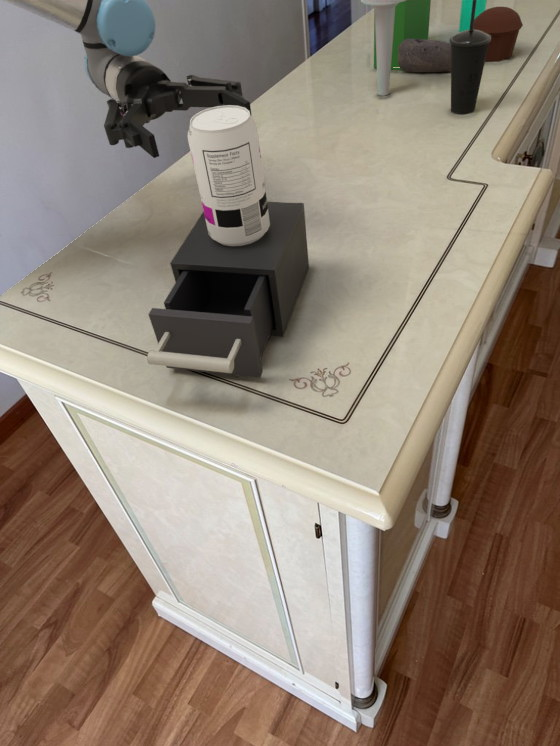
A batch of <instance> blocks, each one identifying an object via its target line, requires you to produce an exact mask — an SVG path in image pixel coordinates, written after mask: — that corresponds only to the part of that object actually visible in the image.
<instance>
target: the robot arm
mask: <svg viewBox="0 0 560 746" xmlns="http://www.w3.org/2000/svg"><path fill="white" fill-rule="evenodd" d="M3 1H4V2H6V3H8V4H11V5H13V6H15V7H18V8H19V9H21V10H22V9H23V10H25V11H26V12H30V13H32V14H34V15H37V16H39V17H41V18H43V19H46V20H48V21H50V22H53V23H55V24H58V25H59V26H62V27H64V28H67V29H69V30H71V31H74V32H76V33H77V34H80V36H81V39H82V44H83V49H84V52H85V54H84V61H83V64H84V65H83V66H84V71H85V73H86V75H87V77H88V79H89V80H90V82H91V84H93V85H94V87H95V88H97V90H98V91H100V92H101V93H102V94H104V95H106V96H108V98H110V99H108V100H107V101H106V105H107V107H108V110H107V113H106V116H105V119H104V123H103V127H104V131H105V134H106V137H107V141H108V143H109V146H116V145H118V144H119V143H120V141H123V144H124V146H125V148H126V149H131V148H136V147H140V148H141V149H142V150H143V151H145V152H146V153H147V154H148V155H149V156H151V157H152V158H153V159H156V158H159V157H160V153H159V148H158V145H157V141H156V138H155V134H154V133H152V132H151V131H150V130H148V129H147V127H144V125H145V124H149V123H151V121H154V120H157V119H159V118H161V117H162V116H164V115H165V114H166V113H172V112H173V111H183V112H184V111H188V110H189V109H190V108H212V107H217V106H225V105H234V106H241V107H244V108H246V109H247V110H249V112H250V115H251V116H252V115H253V114H252V110H251V102H250V101H249V100H247V99H245V97H244V96H243V88H242V82H241V81H234V80H225V79H217V78H208V77H200V76H198V75H194V74H188V75H186V82H183V81H181V82H179V81H171V79H170V78H169V76H168V75H167V74H166V73H165V72H164V70H162V69H161V68H159V67H158V66H156V65H155V64H153V63H151V62H149V61H148V60H146V59H144V58H142V57H141V56H139V55H140V54H142V53H144V52H145V51H147V49H148V48H149V47H150V46H151V44H152V43H153V40H154V38H155V33H156V19H155V14H154V12H153V9H152V8H151V6H150V5H149V2H147V1H146V0H3ZM181 102H182V103H181ZM252 117H253V116H252Z"/></svg>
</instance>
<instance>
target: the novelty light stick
mask: <svg viewBox="0 0 560 746" xmlns="http://www.w3.org/2000/svg"><path fill="white" fill-rule="evenodd" d="M403 1H406V0H360V2H361V4H363V5H366V6H367V5H368V6H372V7H373V8H375V31H376V58H377V68H376V81H377V82H376V83H377V95H378V96H383V97H384V96H388V95H389V94H390V84H391V71H392V70H391V58H392V44H393V30H394V17H395V6H396V5H397V4H399V3H400V2H403Z"/></svg>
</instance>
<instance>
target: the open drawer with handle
mask: <svg viewBox="0 0 560 746" xmlns="http://www.w3.org/2000/svg"><path fill="white" fill-rule="evenodd" d="M163 306H164V308H157V307H152V308H151V309H150V310H149V312H148V317H149V321H150V324H151V327H152V330H153V332H154V335H155V338H156V341H157V345H156V347H155V348H154V350H149V351H148V353H147V356H146V357H147V358H146V361H147V363H148V364H149V365H153V366H161V367H166V369H174V370H183V371H193V372H199V373H200V372H201V373H210V374H217V375H218V374H219V375H228V376H236V377H244V378H245V377H246V378H254V379H261V378H262V375H263V372H264V370H263V365H262V359H261V357H262V355H263V352H264V350H265V347H266V346H267V343H268V340H269V338H270V336H271V335H270V333H271V330H272V328H273V325H274V323H275V316H274V309H273V302H272V295H271V288H270V281H269V275H256V274H241V273H227V272H212V271H197V270H183V272H182V273H181V275H180V277H179V278H178V280H177V281H176V282H175V283H174V284H173V287H172V288H171V290H170V291H169V293H168V295H167V296H166V298H165V300H164V301H163Z"/></svg>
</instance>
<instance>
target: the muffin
mask: <svg viewBox="0 0 560 746" xmlns="http://www.w3.org/2000/svg"><path fill="white" fill-rule="evenodd" d="M522 27H523V22H522V19H521V16H520V14H519V13H518V12H517V11H516V10H514V9H513V8H511V7H508V6H493V7H490V8H487V9H486V10H485V11H484V12H482V13H481V14H480V15H478V16H477V17H476V18H475V20H474V27H473V30H480V31H482V32H484V33H487V34H489V35H490V36H491V41H490V42H489V45H488V49H487V54H486V59H485V63H488V62H489V63H490V62H502V61H505V60H509V59H510V57H512V56H513V52H514V49H515V46H516V42H517V40H518V36H519V33H520V30H521V29H522Z"/></svg>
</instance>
